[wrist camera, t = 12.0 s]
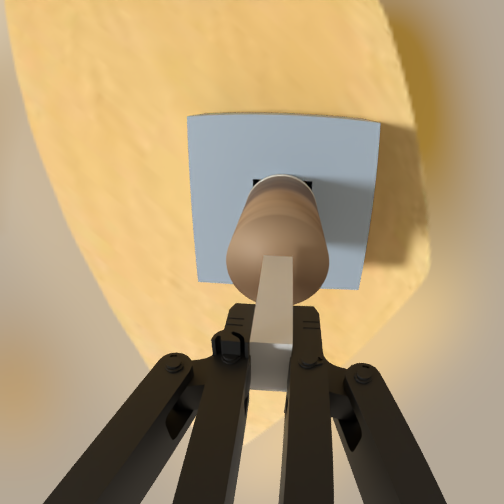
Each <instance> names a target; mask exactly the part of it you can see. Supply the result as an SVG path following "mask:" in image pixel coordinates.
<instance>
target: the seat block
mask: <svg viewBox="0 0 504 504" xmlns="http://www.w3.org/2000/svg"><path fill="white" fill-rule="evenodd" d="M187 128H188V152H189V171H190V188H191V203H192V217H193V230H194V242H195V253H196V264H197V274H198V282H210V283H225V284H233V282H232V281H231V279H230V277H229V274H228V271H227V266H226V255H227V250H228V247H229V244H230V241H231V239H232V236H233V234H234V231H235V229H236V226H237V224H238V221H239V219H240V216H241V214H242V211H243V209H244V206H245V204H246V200H247V197H248V195H249V193H250V191H251V189H252V188H253V186H254V185H255V184H256V183H257V182H259V179H263V178H265V177H267V176H270V175H274V174H288V175H292V176H295V177H297V178H299V179H301V180H302V181H307V185H308V186H309V187H310V189H311V190H312V192H313V194H314V196H315V199H316V203H317V209H318V213H319V217H320V221H321V225H322V229H323V233H324V237H325V241H326V245H327V249H328V254H329V270H328V274H327V277H326V279H325V281H324V283H323V284H322V286H321V287H320V288H322V289H350V290H359V285H360V280H361V274H362V269H363V264H364V258H365V252H366V246H367V240H368V234H369V227H370V221H371V214H372V206H373V198H374V190H375V182H376V172H377V162H378V151H379V138H380V123H378V122H374V121H370V120H366V119H359V118H350V117H339V116H328V115H313V114H295V113H253V112H248V113H205V114H199V115H192V116H187Z"/></svg>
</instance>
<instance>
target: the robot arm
mask: <svg viewBox="0 0 504 504" xmlns="http://www.w3.org/2000/svg"><path fill="white" fill-rule="evenodd" d="M211 341H212V350H213V355H212V356H210V357H208V358H205V359H200V360H192V361H191V359H190V358H189V357H188V356H187V355H185V354H182V353H170V354H167V355H165V356H163V357H162V358H161V359H160V360H159V361H158V362H157V363H156V365H155V366H154V367H153V368H152V369H151V371H150V372H149V373H148V374H147V376H146V377H145V378H144V379H143V381H142V382H141V383H140V384H139V385H138V387H137V388H136V389H135V390H134V392H133V393H132V394H131V395H130V396H129V398H128V399H127V400H126V402H125V403H124V404H123V405H122V406H121V408H120V409H119V410H118V411H117V413H116V414H115V415H114V416H113V417H112V419H111V420H110V421H109V422H108V424H107V425H106V426H105V427H104V429H103V430H102V431H101V433H100V434H99V435H98V436H97V437H96V438H95V440H94V441H93V442H92V444H91V445H90V446H89V447H88V448H87V450H86V451H85V452H84V453H83V455H82V456H81V457H80V458H79V459H78V461H77V462H76V463H75V464H74V466H73V467H72V468H71V470H70V471H69V472H68V473H67V474H66V476H65V477H64V478H63V479H62V481H61V482H60V483H59V484H58V486H57V487H56V488H55V489H54V491H53V492H52V493H51V494H50V496H49V497H48V498H47V499H46V500H45V502H44V503H43V504H140V503H141V501H142V500H143V498H144V497H145V495H146V494H147V492H148V491H149V489H150V488H151V486H152V485H153V483H154V482H155V480H156V478H157V477H158V475H159V474H160V472H161V471H162V469H163V467H164V466H165V464H166V463H167V461H168V460H169V458H170V457H171V455H172V453H173V452H174V450H175V449H176V447H177V445H178V444H179V442H180V441H181V439H182V437H183V436H184V434H185V433H186V431H187V429H188V428H189V426H190V425H191V423H192V421H193V420H194V418H195V416H196V419H195V422H194V426H193V430H192V433H191V437H190V441H189V444H188V448H187V452H186V455H185V459H184V463H183V466H182V470H181V474H180V477H179V481H178V485H177V489H176V493H175V496H174V500H173V504H233V502H234V496H235V490H236V484H237V477H238V471H239V464H240V457H241V451H242V445H243V438H244V432H245V425H246V418H247V411H248V404H249V390H250V389H252V390H266V391H284V392H287V395H286V403H285V410H284V413H285V421H284V422H285V423H284V439H283V453H282V467H281V480H280V494H279V504H334V485H333V484H334V483H333V452H332V431H331V417H333V420H334V422H335V425H336V428H337V431H338V434H339V436H340V439H341V442H342V444H343V447H344V450H345V452H346V455H347V458H348V461H349V464H350V466H351V469H352V472H353V475H354V478H355V480H356V483H357V486H358V489H359V492H360V494H361V497H362V500H363V503H364V504H447V503H446V501H445V499H444V497H443V495H442V492H441V490H440V488H439V486H438V484H437V482H436V480H435V478H434V476H433V474H432V472H431V470H430V468H429V466H428V463H427V462H426V459H425V458H424V455H423V453H422V452H421V449H420V447H419V446H418V444H417V442H416V440H415V438H414V436H413V434H412V432H411V430H410V428H409V426H408V424H407V423H406V421H405V419H404V417H403V415H402V413H401V411H400V409H399V407H398V405H397V403H396V402H395V400H394V398H393V396H392V394H391V392H390V391H389V389H388V387H387V385H386V383H385V381H384V380H383V378H382V376H381V374H380V373H379V371H378V370H377V369H376V368H375V367H373V366H371V365H370V364H366V363H357V364H354V365H351V366H350V367H349V368H348V369H345V368H341V367H337V366H335V365H333V364H331V363H329V362H328V361H327V360H326V359H325V357H324V355H323V349H322V339H321V330H320V319H319V313H318V312H317V310H316V309H315V308H314V307H313V306H293V257H288V256H267V255H264V257H263V263H262V269H261V276H260V282H259V288H258V294H257V300H256V304H241V303H236V304H235V305H234V306H233V307H232V308H231V309H230V310H229V314H228V317H227V321H226V325H225V328H224V330H222V331H219V332H218V333H216V334H215V335H214V336H213V337H212V339H211Z"/></svg>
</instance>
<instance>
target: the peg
mask: <svg viewBox="0 0 504 504" xmlns="http://www.w3.org/2000/svg"><path fill="white" fill-rule="evenodd" d="M264 255H267V256H288V257H293V305H294V304H297V303H300V302H302V301H304V300H306V299H308V298H309V297H311V296H312V295H313V294H315V293H316V292H317V291H318V290H319V289H320V287H321V286H322V284H323V283H324V281H325V279H326V277H327V274H328V270H329V254H328V249H327V245H326V241H325V237H324V233H323V229H322V225H321V221H320V217H319V213H318V209H317V203H316V199H315V196H314V194H313V192H312V190H311V189H310V187H309V186H308V185H307V184H306V183H305V182H304V181H302V180H301V179H299V178H297V177H295V176H292V175H288V174H274V175H270V176H267V177H265V178H263V179H261V180H260V181H259V182H257V183H256V184H255V185H254V186H253V188H252V189H251V191H250V193H249V195H248V197H247V200H246V204H245V206H244V209H243V211H242V214H241V216H240V219H239V221H238V224H237V226H236V229H235V231H234V234H233V236H232V239H231V241H230V244H229V247H228V250H227V255H226V266H227V271H228V274H229V277H230V279H231V281H232V282H233V284H234V285H235V287H236V288H237V289H238V290H239V291H240V292H241V293H242V294H243V295H245V296H246V297H248V298H249V299H251V300H253V301H255V302H256V300H257V294H258V288H259V282H260V276H261V269H262V263H263V257H264Z"/></svg>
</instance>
